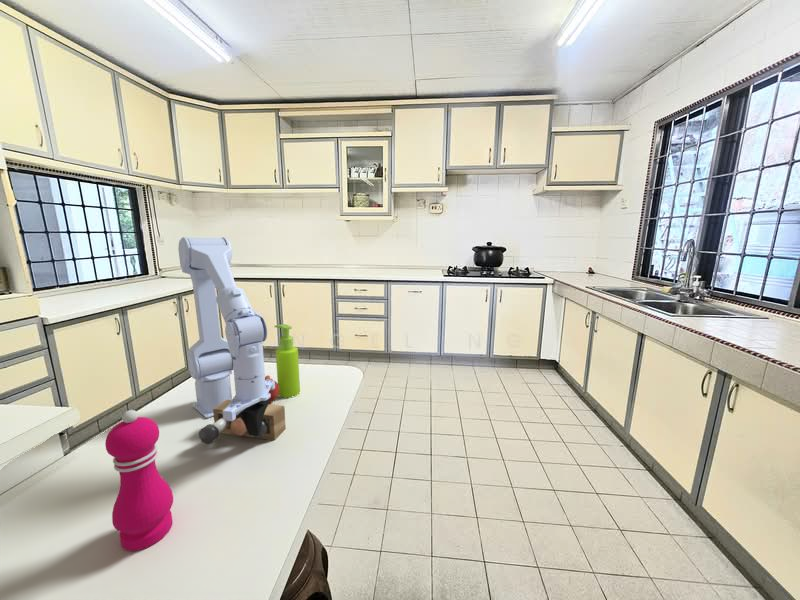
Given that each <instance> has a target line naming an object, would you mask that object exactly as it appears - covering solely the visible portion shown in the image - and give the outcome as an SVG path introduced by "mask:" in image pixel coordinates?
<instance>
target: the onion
mask: <svg viewBox="0 0 800 600" xmlns="http://www.w3.org/2000/svg"><path fill="white" fill-rule="evenodd" d="M265 380H274V379H273V378H271V376H270V375H269V374H267V375H265ZM279 390H280V388H279V385H278V381H276V380H275V388H274V389H273V390H270V391H269V393H270V394H271V397H270V398H269V399H268V400H269V404H272V403H273V402H274V401H275V400H276V399H277V398H278V397H279Z"/></svg>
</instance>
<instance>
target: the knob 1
mask: <svg viewBox="0 0 800 600" xmlns="http://www.w3.org/2000/svg"><path fill="white" fill-rule="evenodd" d="M230 424H231V421H227V420H223V417H222V418H221V419H219V420H218V421H217V422H215V423H213V424H212V423H211V424H210V423H209V424H207V425H205V426H204V427H202V428H201V429H200V430H199V432H198V437H199V440H200V441H201V442H202V443H203V444H206V445H210V444H212V443H213V442H215V441H216V440H217V439H219V436H220V434H221V433H220V432H221V431H223V430H224V429H225V428H227V427H228V426H229V425H230Z"/></svg>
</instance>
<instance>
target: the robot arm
mask: <svg viewBox="0 0 800 600" xmlns="http://www.w3.org/2000/svg"><path fill="white" fill-rule="evenodd" d="M177 250H178V258H179V264H180V265H179V266H180V269H181V273H184V274H187V275H189V277H190V278H191V283H192V290H193V298H194V307H195V313H196V321H197V328H198V329H197V330H198V338H199V339H198V340H197V341H196V342H195V343H194V344H192V345H191V346H190V347H189V348H188V351H187V358H188V359H187V367H188V372H189V374H190V375H189V376H191V378H192V379H194V380H195V381H194V387H195V388H194V389H195V396H196V403H193V405H192V407H194V408H195V409H196V411H198V412H199V413H200V414H201V415H202V416H203V417H205V419H209V418H212V417H214V414H213V409H214V408H215V407H217V406H218V405H220V404H221V403H223V402H224V401H225V400H232V401H231V402H230V404H229V405H228V407H227V408H226V409H224V410H223V420H227V421H233V420H235V419H236V415H239V416H240V417H241V419H242V420H243V422H244V424H245V426H246V429H247V431H248V434H249V435H253V436H258V435H259V434H260V430H261V425H262V420H263V416H264V413H265V410H266V408H267V406H268V404H269V400H268V399H269V398H270V397H271V394H270V393H269V391H270V390H273V389H274V388H275V381H276V380H274V379H273V380H265V377H266V375H265V374H266V373H265V362H264V361H265V358H264V348H263V347H264V345H263V342H266V340H267V338H268V327H267V323H266V321H265V318H264V316H263V315H262V314H260V313H259V312H258V311H257V310H254V309H253V306H252V305H251V303H250V300H249V299H248V296H247V293H246V291H245V290H244V289H243V288H242V287H238V286H237V284H236V281H235V279H234V278H235V277H234V276H233V275H234V274H233V273H232V269H231V267H230V265H231V263H232V258H233V248H232V244H231V242H230V240H229V239H228V238H227V237H186V236H185V237H184V236H183V237H181V238H180V239H179V241H178V249H177ZM216 290H217V292H218V294H217V292H216ZM218 308H219V309H218ZM219 310H220V314H221V316H222V319H223V320H224V323H225V329H224V332H225V338H226V339H225V338H223V337H222V333H221V325H220V317H219V316H220V315H219ZM232 374H233V376H234V377H233V379H234V389H235V390H234V392H235V395H234V397H233V396H232V387H231V386H232V385H231V384H232V383H231V375H232Z"/></svg>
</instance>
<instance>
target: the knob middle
mask: <svg viewBox="0 0 800 600" xmlns="http://www.w3.org/2000/svg"><path fill="white" fill-rule="evenodd" d="M231 430H232V432H233V433H234V434H235V436H240V437H242V436H241V435H243V434H244V433H246V432H247V429H246V426H245V424H244V422H243V420H242V419H241V417H238V418H237V419H236V420H234V421H233V422H232V423H231Z"/></svg>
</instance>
